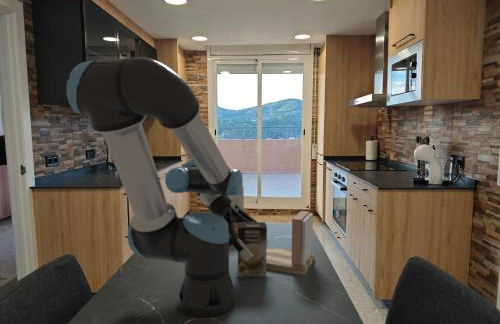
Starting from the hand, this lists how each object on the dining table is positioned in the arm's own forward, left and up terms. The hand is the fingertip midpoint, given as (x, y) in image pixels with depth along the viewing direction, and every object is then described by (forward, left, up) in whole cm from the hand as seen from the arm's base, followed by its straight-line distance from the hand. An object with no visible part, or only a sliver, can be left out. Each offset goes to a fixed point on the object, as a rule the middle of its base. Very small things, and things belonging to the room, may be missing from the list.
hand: (258, 251), depth 106 cm
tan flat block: (+12, -11, -5) cm, 17 cm away
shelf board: (+12, -5, -8) cm, 15 cm away
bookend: (+12, -11, -6) cm, 17 cm away
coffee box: (0, +2, -8) cm, 8 cm away
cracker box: (+34, +28, -8) cm, 45 cm away
